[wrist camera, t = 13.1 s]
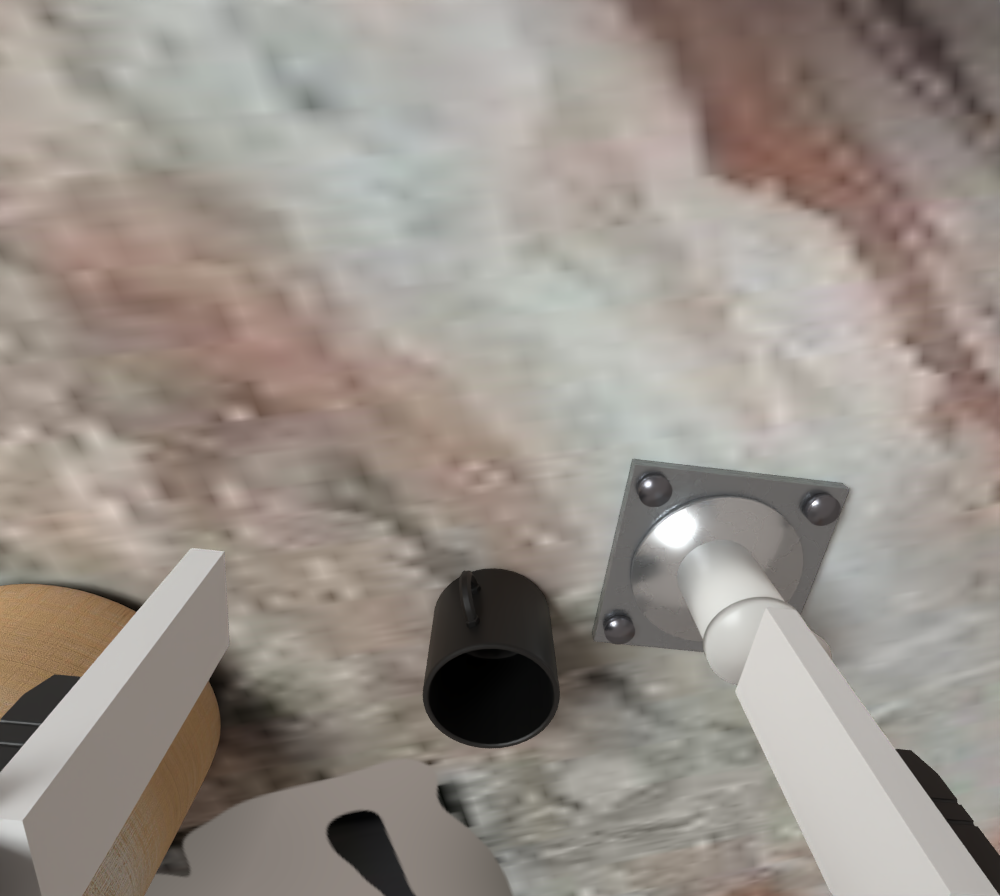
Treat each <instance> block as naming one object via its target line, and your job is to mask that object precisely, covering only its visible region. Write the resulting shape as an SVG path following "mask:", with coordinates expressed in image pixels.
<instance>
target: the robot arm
mask: <svg viewBox="0 0 1000 896" xmlns="http://www.w3.org/2000/svg"><path fill="white" fill-rule="evenodd" d="M229 645H230V641H229V623H228V605H227V587H226V570H225V552H224V551H216V550H206V549H196V548H191V549H190V550H189V551H188V552H187V553H186V555H185V556H184V557H183V558H182V559H181V561H180V562H179V563H178V564H177V565H176V566H175V568H174V569H173V570H172V571H171V572H170V573H169V575H168V576H167V577H166V578H165V579H164V581H163V582H162V583H161V584H160V585H159V586H158V588H157V589H156V590H155V591H154V592H153V593H152V595H151V596H150V597H149V598H148V599H147V600H146V602H145V603H144V604H143V605H142V606H141V608H140V609H139V610H138V611H137V612H136V613H135V615H134V616H133V617H132V618H131V619H130V620H129V622H128V623H127V624H126V625H125V626H124V628H123V629H122V630H121V631H120V632H119V633H118V635H117V636H116V637H115V638H114V639H113V640H112V642H111V643H110V644H109V645H108V646H107V648H106V649H105V650H104V651H103V652H102V653H101V655H100V656H99V657H98V658H97V659H96V660H95V662H94V663H93V664H92V665H91V666H90V668H89V669H88V670H87V671H86V672H85V673H84V675H83V676H82V677H79V676H68V675H57V674H54V675H53V676H51V677H49V678H48V679H46V680H45V681H43V682H42V683H40V684H39V685H37V686H36V687H34V688H32V689H31V690H29V691H28V692H26V693H25V694H23V695H22V696H21V697H20V698H19V700H18V701H17V702H16V703H15V704H14V705H13V706H12V707H11V708H10V709H9V710H8V711H7V712H6V713H5V715H4V716H3V717H2V718H1V720H0V896H83V894H84V892H85V890H86V889H87V887H88V885H89V884H90V882H91V880H92V878H93V877H94V875H95V873H96V872H97V870H98V868H99V866H100V865H101V863H102V861H103V860H104V858H105V856H106V855H107V853H108V851H109V849H110V848H111V846H112V844H113V843H114V841H115V839H116V837H117V836H118V834H119V832H120V831H121V829H122V827H123V826H124V824H125V822H126V820H127V819H128V817H129V815H130V814H131V812H132V810H133V808H134V807H135V805H136V803H137V802H138V800H139V798H140V796H141V795H142V793H143V791H144V790H145V788H146V786H147V785H148V783H149V781H150V779H151V778H152V776H153V774H154V773H155V771H156V769H157V767H158V766H159V764H160V762H161V761H162V759H163V757H164V756H165V754H166V752H167V750H168V749H169V747H170V745H171V744H172V742H173V740H174V738H175V737H176V735H177V733H178V732H179V730H180V728H181V726H182V725H183V723H184V721H185V720H186V718H187V716H188V715H189V713H190V711H191V709H192V708H193V706H194V704H195V703H196V701H197V699H198V697H199V696H200V694H201V692H202V691H203V689H204V687H205V685H206V684H207V682H208V680H209V679H210V677H211V675H212V674H213V672H214V670H215V668H216V667H217V665H218V663H219V662H220V660H221V658H222V656H223V655H224V653H225V651H226V650H227V648H228V646H229ZM735 693H736V695H737V697H738V699H739V701H740V703H741V705H742V708H743V710H744V712H745V714H746V716H747V718H748V720H749V722H750V724H751V726H752V729H753V731H754V733H755V735H756V737H757V739H758V741H759V743H760V745H761V747H762V750H763V752H764V754H765V756H766V758H767V760H768V762H769V764H770V766H771V768H772V771H773V773H774V775H775V777H776V779H777V781H778V783H779V785H780V787H781V789H782V791H783V794H784V796H785V798H786V800H787V802H788V804H789V806H790V808H791V810H792V812H793V815H794V817H795V819H796V821H797V823H798V825H799V827H800V829H801V831H802V833H803V836H804V838H805V840H806V842H807V844H808V846H809V848H810V850H811V852H812V854H813V857H814V859H815V861H816V863H817V865H818V867H819V869H820V871H821V873H822V875H823V878H824V880H825V882H826V884H827V886H828V888H829V890H830V892H831V894H832V896H1000V855H999V854H998V853H997V851H996V850H995V849H994V848H993V846H992V845H991V844H990V842H989V841H988V840H987V838H986V837H985V836H984V834H983V833H982V832H981V830H980V829H979V828H978V827H976V826H974V824H973V820H972V818H971V817H970V816H969V814H968V813H967V812H966V811H965V809H964V808H963V807H962V805H958V803H957V799H956V797H955V796H954V795H953V793H952V792H951V791H950V789H949V788H948V787H947V785H946V784H945V783H944V781H943V780H942V779H941V777H940V776H939V775H938V774H937V773H936V772H935V771H934V770H933V769H932V768H931V767H929V766H928V765H927V764H926V763H925V762H924V761H923V760H921V759H920V758H919V757H918V756H917V755H916V754H915V753H913V752H912V751H911V750H901V749H895V748H894V747H893V746H892V744H891V743H890V741H889V740H888V739H887V737H886V736H885V734H884V733H883V732H882V730H881V729H880V727H879V726H878V725H877V723H876V722H875V720H874V719H873V718H872V716H871V715H870V713H869V712H868V711H867V709H866V708H865V706H864V705H863V704H862V702H861V701H860V699H859V698H858V697H857V695H856V694H855V692H854V691H853V690H852V688H851V687H850V685H849V684H848V683H847V681H846V680H845V678H844V677H843V675H842V674H841V673H840V671H839V670H838V668H837V667H836V666H835V664H834V663H833V661H832V660H831V659H830V657H829V656H828V654H827V653H826V652H825V650H824V649H823V647H822V646H821V645H820V643H819V642H818V640H817V639H816V638H815V636H814V635H813V633H812V632H811V631H810V629H809V628H808V626H807V625H806V624H805V622H804V621H803V619H802V618H801V617H800V615H799V614H798V612H797V611H796V610H789V609H779V608H769V607H766V608H765V611H764V614H763V617H762V619H761V622H760V625H759V628H758V630H757V633H756V636H755V639H754V641H753V644H752V647H751V650H750V652H749V655H748V658H747V661H746V663H745V666H744V669H743V672H742V674H741V677H740V680H739V683H738V686H737V688H736V691H735Z"/></svg>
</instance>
